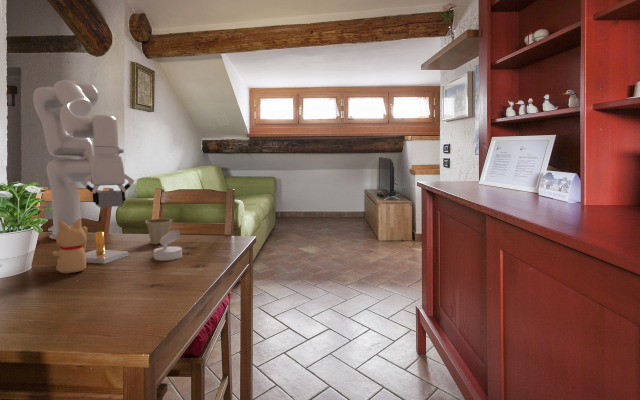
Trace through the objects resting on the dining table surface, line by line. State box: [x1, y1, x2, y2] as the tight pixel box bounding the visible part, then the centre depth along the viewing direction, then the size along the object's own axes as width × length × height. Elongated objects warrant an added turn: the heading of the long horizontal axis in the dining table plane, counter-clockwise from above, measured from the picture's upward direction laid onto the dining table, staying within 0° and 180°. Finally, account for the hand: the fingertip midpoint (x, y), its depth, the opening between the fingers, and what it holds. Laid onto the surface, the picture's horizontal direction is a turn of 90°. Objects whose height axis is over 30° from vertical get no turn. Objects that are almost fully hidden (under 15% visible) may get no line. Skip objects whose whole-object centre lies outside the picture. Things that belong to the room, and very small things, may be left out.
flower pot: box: [144, 218, 173, 245], centre depth 145 cm, size 9×9×9 cm
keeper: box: [85, 231, 129, 265], centre depth 121 cm, size 12×10×8 cm
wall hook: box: [153, 229, 183, 261], centre depth 123 cm, size 9×10×10 cm
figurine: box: [52, 218, 88, 274], centre depth 108 cm, size 9×10×15 cm
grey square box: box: [96, 190, 124, 208], centre depth 131 cm, size 7×7×5 cm
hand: (109, 203), depth 131 cm, fingers closed on grey square box, 7 cm apart
